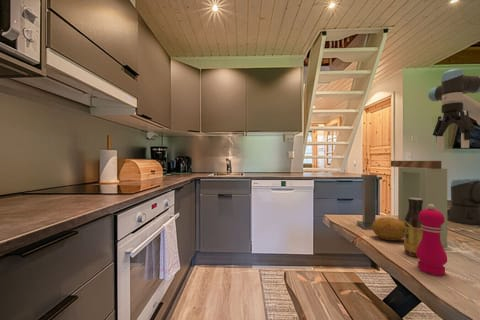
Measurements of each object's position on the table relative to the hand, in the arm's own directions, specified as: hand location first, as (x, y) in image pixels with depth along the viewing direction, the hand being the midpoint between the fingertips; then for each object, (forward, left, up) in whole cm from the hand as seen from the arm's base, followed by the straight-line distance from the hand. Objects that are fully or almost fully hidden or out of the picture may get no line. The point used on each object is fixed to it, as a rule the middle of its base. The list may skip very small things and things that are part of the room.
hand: (451, 148), depth 107 cm
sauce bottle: (+44, +16, -39) cm, 61 cm away
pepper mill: (+51, +26, -39) cm, 69 cm away
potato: (+39, +2, -39) cm, 55 cm away
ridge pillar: (+33, -15, -39) cm, 53 cm away
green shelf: (+25, +4, -39) cm, 46 cm away
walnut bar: (+23, -1, -9) cm, 25 cm away
